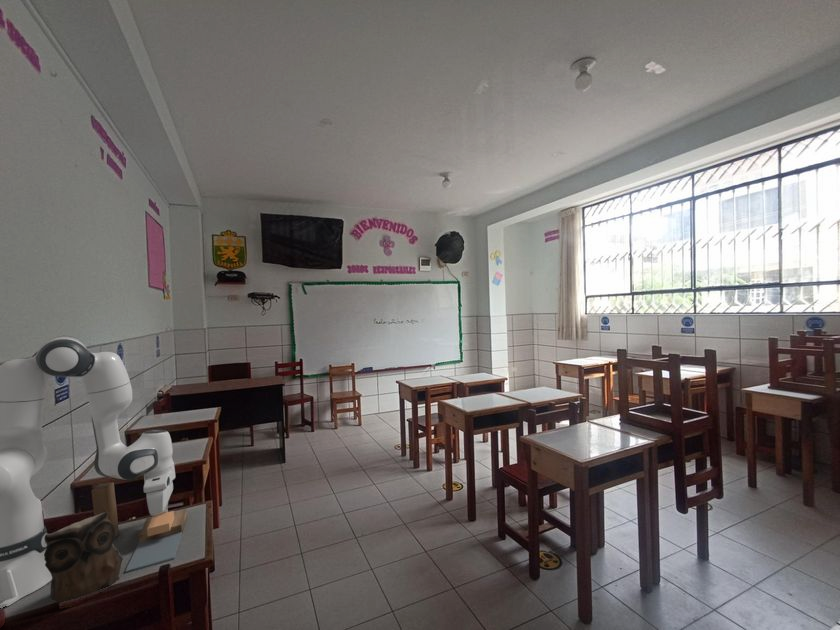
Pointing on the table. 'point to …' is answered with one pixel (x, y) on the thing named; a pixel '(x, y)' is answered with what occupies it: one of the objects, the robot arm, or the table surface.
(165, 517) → the tile
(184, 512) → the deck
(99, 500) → the wooden block
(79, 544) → the owl
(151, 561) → the mat
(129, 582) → the table surface
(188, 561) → the table surface
